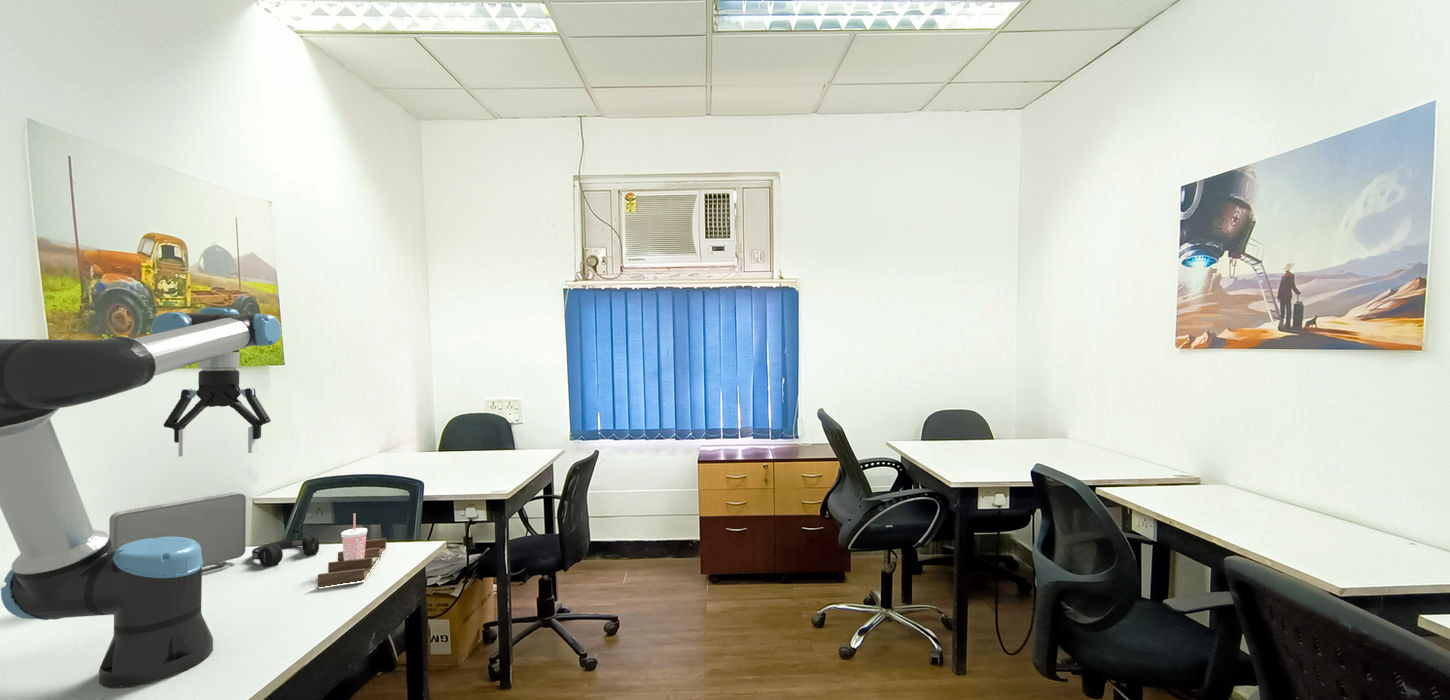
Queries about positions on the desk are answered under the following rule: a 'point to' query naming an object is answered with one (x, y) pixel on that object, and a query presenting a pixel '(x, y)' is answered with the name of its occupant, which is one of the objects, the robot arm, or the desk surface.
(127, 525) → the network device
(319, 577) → the slot rack
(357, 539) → the beverage cup
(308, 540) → the headset
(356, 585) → the desk surface
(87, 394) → the robot arm
